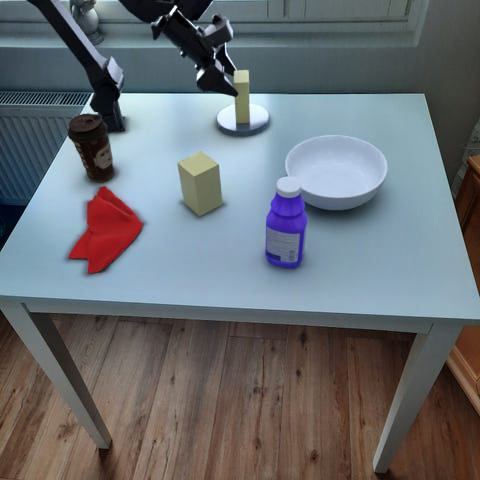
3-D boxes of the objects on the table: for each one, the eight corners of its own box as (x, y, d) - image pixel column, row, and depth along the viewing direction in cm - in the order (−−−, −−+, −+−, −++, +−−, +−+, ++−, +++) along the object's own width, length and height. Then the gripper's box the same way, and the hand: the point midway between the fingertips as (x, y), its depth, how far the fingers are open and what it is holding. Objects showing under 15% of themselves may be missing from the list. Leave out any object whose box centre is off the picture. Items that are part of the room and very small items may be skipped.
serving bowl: (263, 195, 101) (263, 168, 96) (322, 151, 110) (325, 124, 105) (343, 238, 92) (348, 211, 87) (400, 187, 101) (408, 159, 96)
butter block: (183, 202, 101) (176, 162, 93) (206, 191, 103) (201, 150, 95) (199, 216, 98) (193, 176, 90) (222, 204, 100) (219, 164, 92)
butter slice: (235, 123, 116) (233, 82, 108) (236, 110, 120) (234, 70, 112) (249, 122, 116) (248, 82, 108) (249, 110, 120) (248, 69, 112)
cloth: (130, 274, 89) (127, 266, 87) (60, 273, 90) (55, 265, 88) (153, 187, 105) (151, 179, 103) (93, 187, 106) (90, 179, 104)
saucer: (214, 111, 123) (214, 106, 122) (264, 106, 123) (264, 100, 122) (220, 139, 115) (220, 133, 114) (272, 133, 116) (273, 127, 114)
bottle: (306, 252, 91) (314, 176, 77) (299, 273, 87) (305, 198, 74) (270, 245, 92) (271, 169, 78) (262, 265, 89) (261, 190, 75)
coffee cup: (125, 164, 111) (110, 111, 100) (116, 186, 106) (100, 133, 95) (89, 163, 111) (71, 110, 101) (78, 185, 106) (58, 132, 96)
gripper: (206, 25, 93) (262, 80, 101) (211, -11, 104) (261, 41, 113) (173, 67, 100) (228, 115, 108) (180, 29, 111) (230, 75, 119)
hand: (237, 85), depth 112 cm, fingers open, 9 cm apart
